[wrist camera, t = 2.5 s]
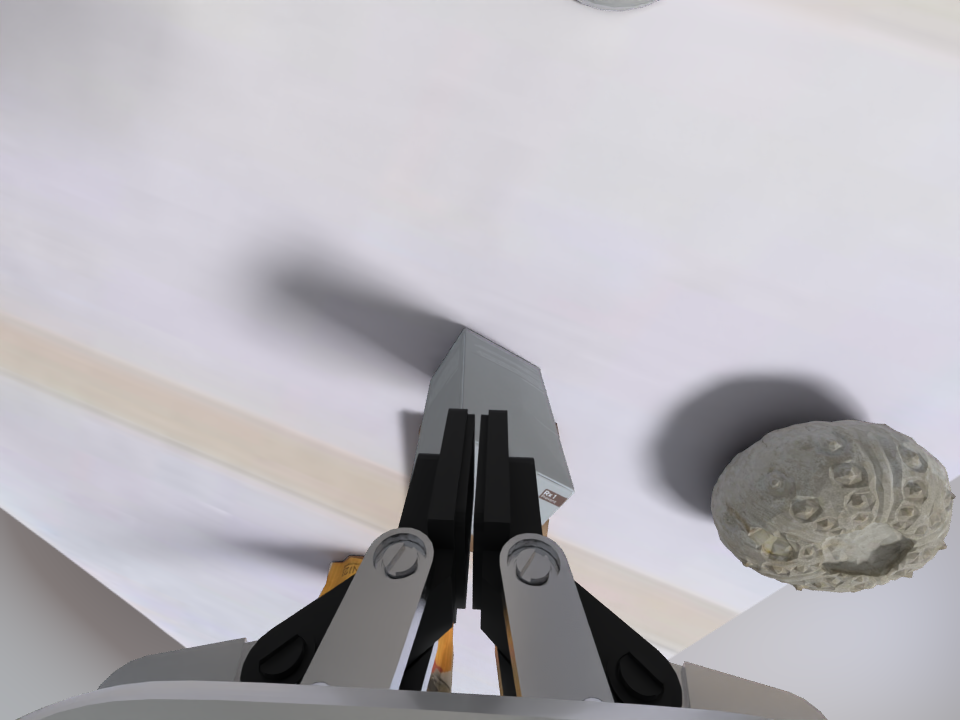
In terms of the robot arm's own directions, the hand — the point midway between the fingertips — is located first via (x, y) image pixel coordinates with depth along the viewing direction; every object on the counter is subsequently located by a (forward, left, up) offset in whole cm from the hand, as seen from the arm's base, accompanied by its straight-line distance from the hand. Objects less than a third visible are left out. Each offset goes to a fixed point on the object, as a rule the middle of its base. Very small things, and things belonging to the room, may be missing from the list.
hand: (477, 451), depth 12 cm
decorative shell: (+21, +30, -24) cm, 44 cm away
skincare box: (+11, 0, -24) cm, 26 cm away
